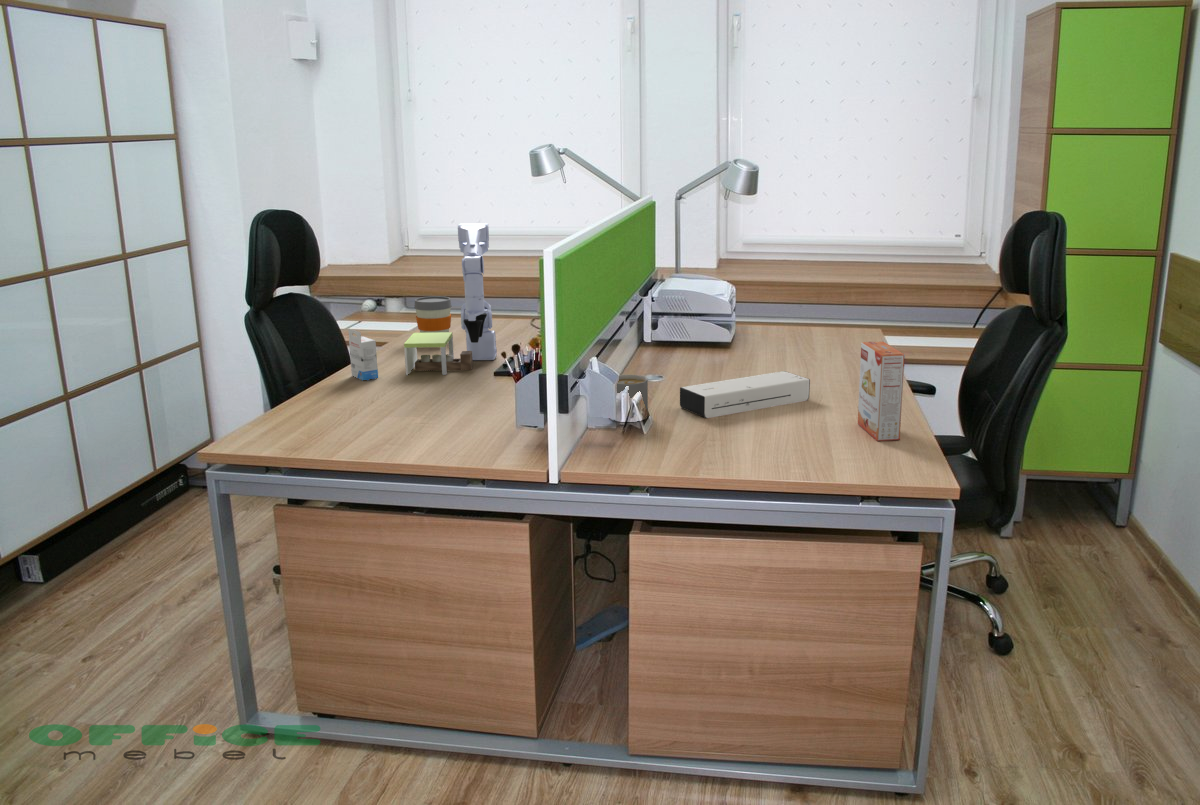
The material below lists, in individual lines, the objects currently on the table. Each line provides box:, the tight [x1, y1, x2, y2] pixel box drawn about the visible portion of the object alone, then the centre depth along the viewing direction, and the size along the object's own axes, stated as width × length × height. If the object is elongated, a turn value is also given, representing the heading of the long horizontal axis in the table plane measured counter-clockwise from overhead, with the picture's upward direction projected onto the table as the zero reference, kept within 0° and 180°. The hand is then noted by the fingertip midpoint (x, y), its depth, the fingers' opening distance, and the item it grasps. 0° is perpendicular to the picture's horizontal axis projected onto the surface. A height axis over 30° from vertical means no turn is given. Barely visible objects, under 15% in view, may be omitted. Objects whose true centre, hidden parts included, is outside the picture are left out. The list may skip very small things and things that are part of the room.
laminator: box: [679, 370, 811, 419], centre depth 268 cm, size 34×12×6 cm, turn 118°
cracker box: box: [857, 341, 906, 442], centre depth 240 cm, size 14×6×21 cm, turn 5°
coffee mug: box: [617, 374, 649, 412], centre depth 256 cm, size 13×10×10 cm
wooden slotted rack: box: [414, 350, 474, 372], centre depth 312 cm, size 17×5×5 cm, turn 90°
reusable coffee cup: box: [414, 295, 452, 333], centre depth 348 cm, size 13×13×15 cm
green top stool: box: [403, 331, 455, 376], centre depth 311 cm, size 12×16×10 cm
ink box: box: [348, 328, 379, 381], centre depth 301 cm, size 8×5×15 cm, turn 39°
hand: (476, 339), depth 311 cm, fingers open, 7 cm apart
